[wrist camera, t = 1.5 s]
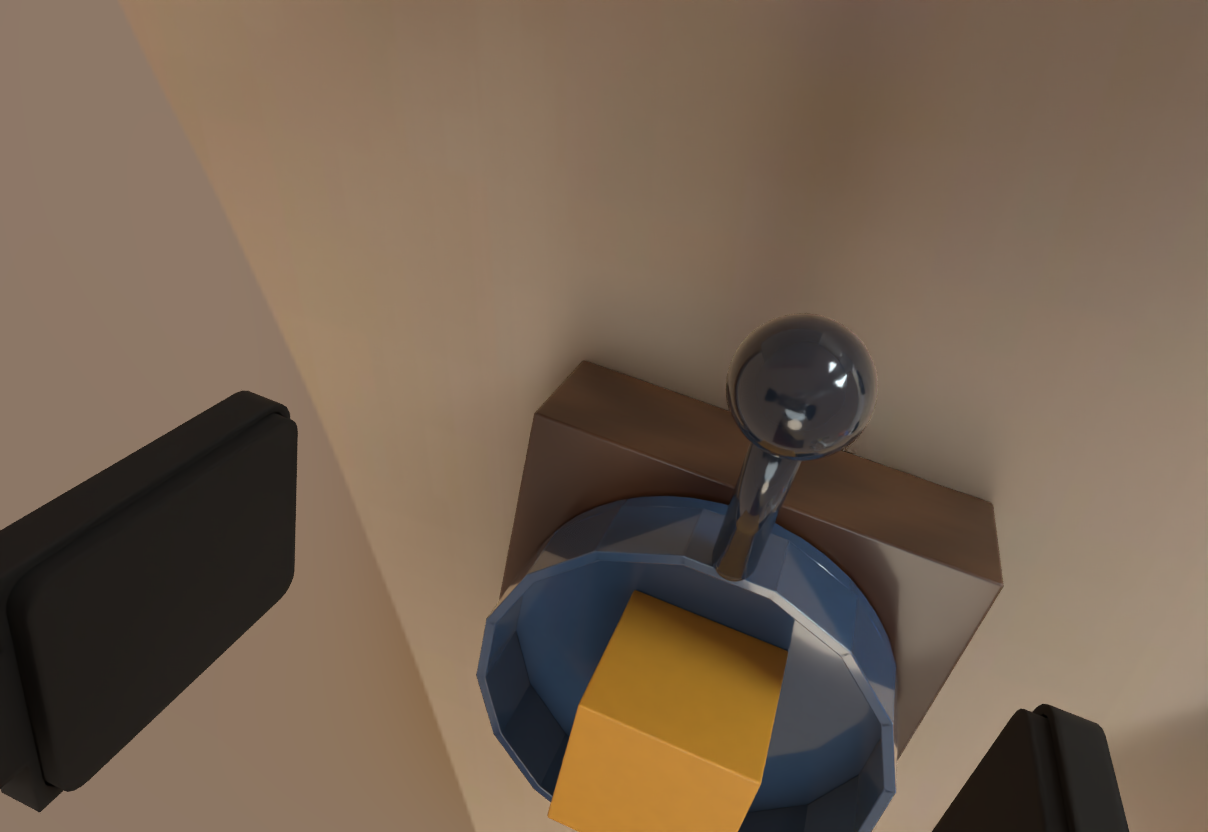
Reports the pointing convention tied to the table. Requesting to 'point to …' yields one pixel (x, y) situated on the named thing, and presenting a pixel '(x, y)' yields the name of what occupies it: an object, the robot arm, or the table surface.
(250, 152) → the table surface
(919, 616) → the stand
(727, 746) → the cube
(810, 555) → the blue frying pan
